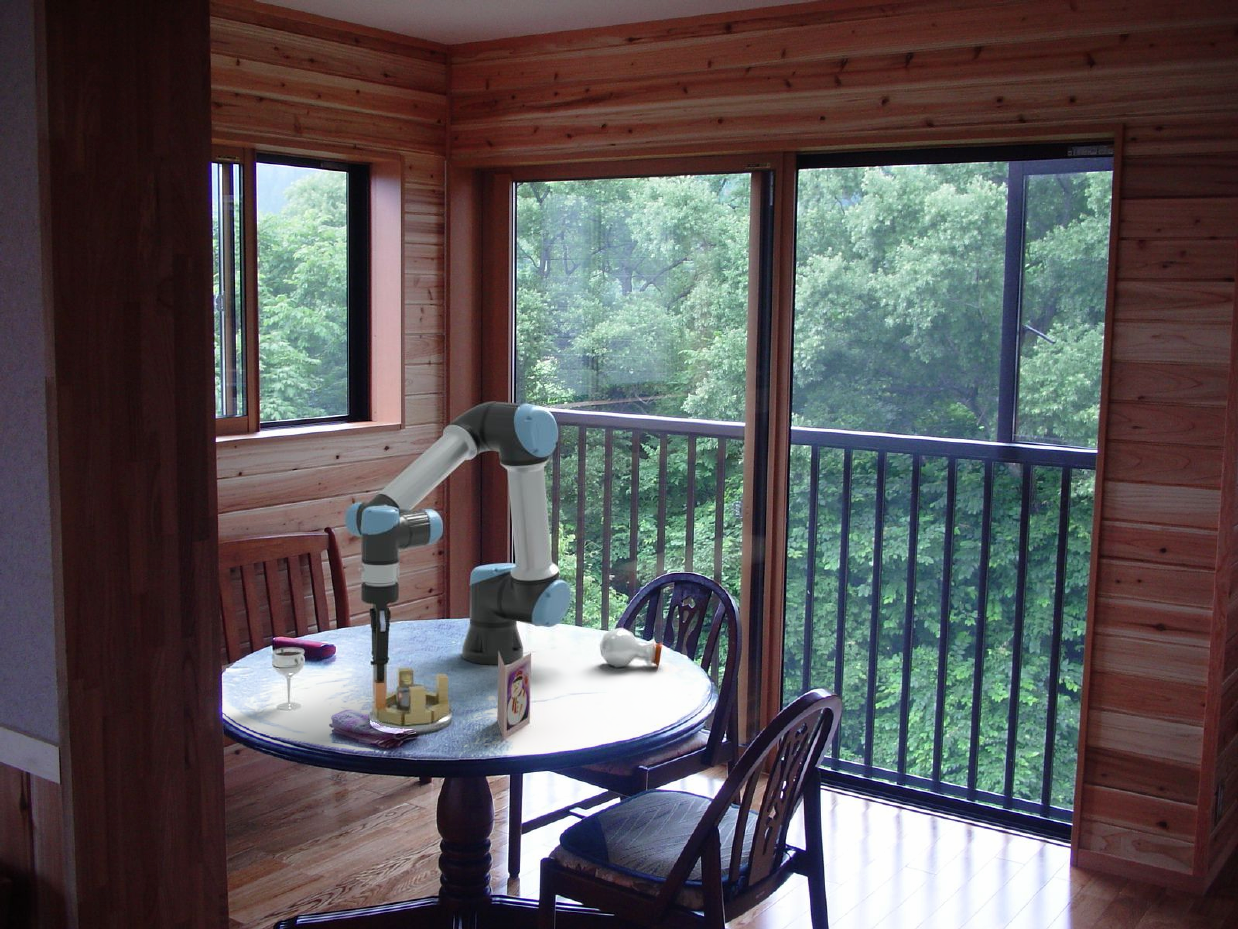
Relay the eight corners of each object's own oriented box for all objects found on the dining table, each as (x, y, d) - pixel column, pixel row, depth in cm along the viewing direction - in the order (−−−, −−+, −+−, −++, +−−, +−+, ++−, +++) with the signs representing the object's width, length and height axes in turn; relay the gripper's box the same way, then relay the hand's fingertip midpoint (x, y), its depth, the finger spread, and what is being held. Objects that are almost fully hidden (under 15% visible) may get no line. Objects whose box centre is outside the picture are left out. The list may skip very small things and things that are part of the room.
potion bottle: (595, 669, 294) (656, 678, 294) (597, 655, 285) (659, 665, 285) (601, 633, 298) (660, 643, 298) (603, 619, 290) (664, 629, 289)
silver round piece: (445, 705, 259) (445, 673, 258) (458, 731, 243) (458, 698, 242) (365, 710, 254) (365, 678, 253) (373, 738, 238) (373, 704, 237)
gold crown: (438, 697, 258) (439, 665, 257) (454, 720, 244) (454, 686, 243) (369, 704, 253) (369, 671, 252) (380, 727, 239) (380, 692, 238)
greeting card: (507, 740, 239) (508, 667, 237) (475, 734, 242) (476, 662, 240) (533, 723, 249) (534, 653, 248) (502, 717, 252) (503, 648, 250)
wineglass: (287, 713, 251) (287, 658, 250) (265, 707, 255) (265, 652, 253) (311, 705, 257) (311, 651, 255) (289, 699, 260) (289, 645, 259)
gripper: (358, 575, 249) (358, 684, 252) (364, 590, 237) (364, 704, 240) (394, 574, 252) (394, 682, 255) (402, 588, 239) (401, 702, 242)
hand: (379, 693), depth 247 cm, fingers closed
